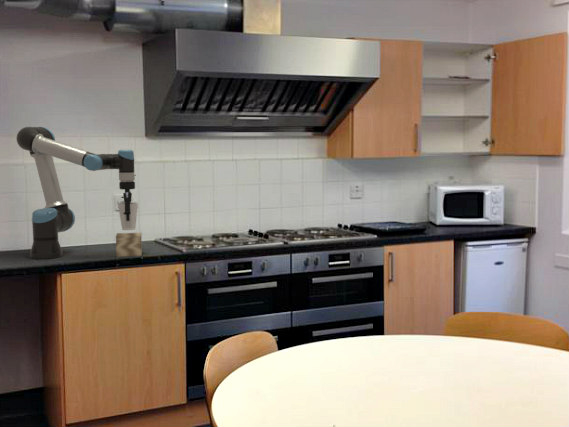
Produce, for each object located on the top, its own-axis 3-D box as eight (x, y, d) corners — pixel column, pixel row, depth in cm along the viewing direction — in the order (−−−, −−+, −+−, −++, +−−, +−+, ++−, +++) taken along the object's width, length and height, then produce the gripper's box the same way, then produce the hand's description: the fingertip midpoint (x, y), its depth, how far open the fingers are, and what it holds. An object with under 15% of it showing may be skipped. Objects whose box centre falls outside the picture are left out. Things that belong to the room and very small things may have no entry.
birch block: (116, 256, 357) (115, 236, 356) (117, 252, 369) (117, 233, 368) (141, 255, 359) (140, 235, 358) (141, 252, 371) (141, 232, 370)
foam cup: (138, 228, 368) (138, 202, 366) (137, 230, 359) (137, 203, 357) (119, 228, 366) (118, 202, 365) (118, 230, 357) (117, 204, 356)
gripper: (134, 182, 350) (135, 228, 352) (135, 179, 372) (136, 223, 374) (118, 182, 349) (119, 229, 351) (120, 180, 370) (121, 224, 372)
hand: (128, 226), depth 362 cm, fingers closed on foam cup, 9 cm apart
